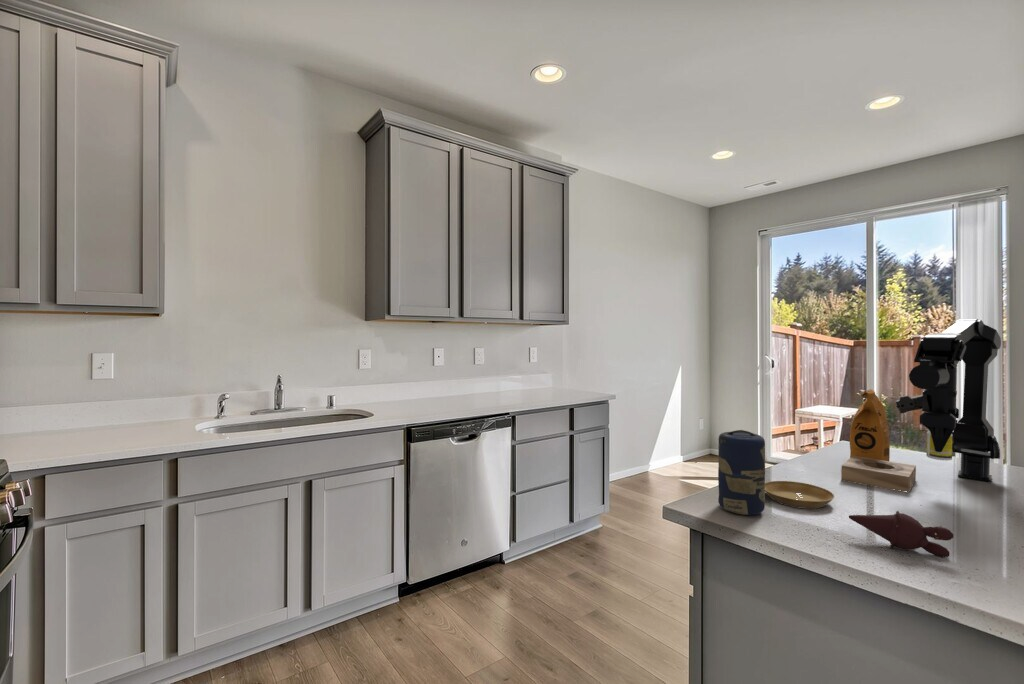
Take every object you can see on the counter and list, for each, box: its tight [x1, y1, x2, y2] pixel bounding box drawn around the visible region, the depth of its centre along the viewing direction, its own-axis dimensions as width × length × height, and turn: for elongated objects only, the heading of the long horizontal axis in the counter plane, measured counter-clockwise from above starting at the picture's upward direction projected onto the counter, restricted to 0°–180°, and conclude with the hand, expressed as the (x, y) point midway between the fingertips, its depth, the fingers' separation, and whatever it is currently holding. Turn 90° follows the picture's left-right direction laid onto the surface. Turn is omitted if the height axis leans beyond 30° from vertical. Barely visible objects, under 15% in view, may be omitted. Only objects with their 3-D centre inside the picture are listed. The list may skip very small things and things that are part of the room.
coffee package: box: [849, 388, 891, 461], centre depth 145 cm, size 10×12×22 cm
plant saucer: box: [765, 480, 835, 510], centre depth 114 cm, size 15×15×3 cm
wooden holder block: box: [840, 456, 917, 493], centre depth 129 cm, size 14×14×4 cm
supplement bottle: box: [926, 429, 953, 461], centre depth 118 cm, size 5×5×8 cm
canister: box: [717, 429, 766, 516], centre depth 108 cm, size 10×10×18 cm
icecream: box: [848, 510, 955, 558], centre depth 89 cm, size 7×7×15 cm
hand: (939, 449), depth 118 cm, fingers closed on supplement bottle, 5 cm apart
